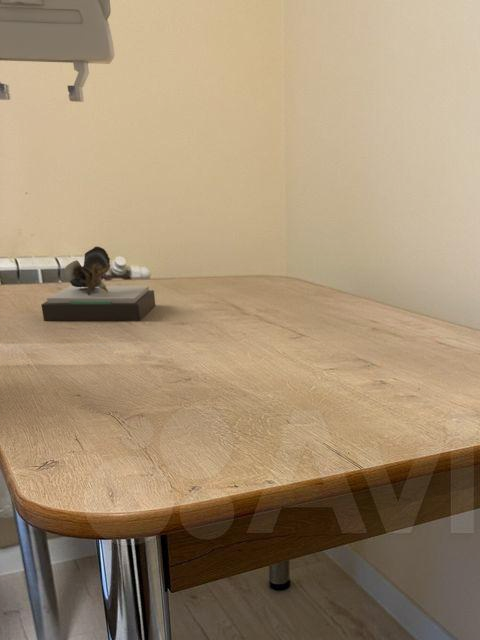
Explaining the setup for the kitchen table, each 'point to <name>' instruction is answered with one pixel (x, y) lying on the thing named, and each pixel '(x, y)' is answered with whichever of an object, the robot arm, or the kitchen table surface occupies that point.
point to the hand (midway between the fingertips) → (40, 100)
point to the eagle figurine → (89, 270)
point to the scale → (99, 304)
